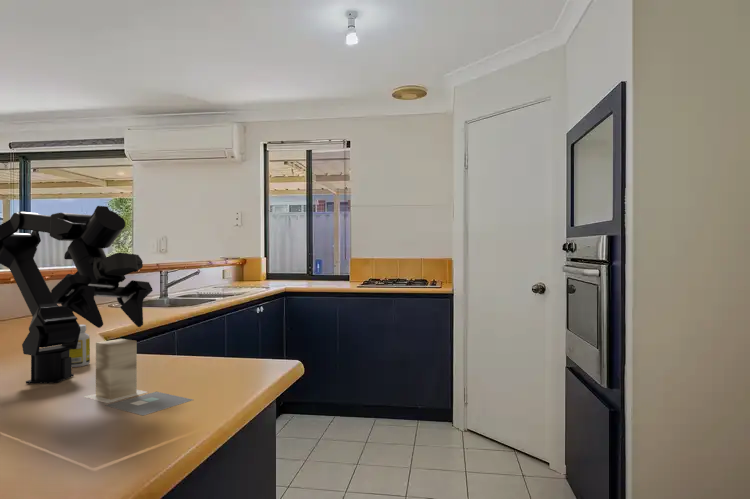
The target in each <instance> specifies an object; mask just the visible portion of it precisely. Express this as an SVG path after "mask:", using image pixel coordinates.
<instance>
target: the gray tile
mask: <svg viewBox="0 0 750 499" xmlns="http://www.w3.org/2000/svg"><path fill="white" fill-rule="evenodd" d="M192 401H194V399H192V398H187V397H183V396H178V395H174V394H169V393H165V392H160V391H153V392H150V393H149V392H148V393H144V394H141V395H137V396H133V397H130V398H126V399H122V400H118V401H115V402H111V403H107V404H106V405H104V406H105V407H109V408H113V409H116V410H120V411H123V412H127V413H132V414H135V415H139V416H146V415H149V414H152V413H157V412H159V411H163V410H166V409H169V408H173V407H176V406H179V405H181V404H184V403H188V402H192Z"/></svg>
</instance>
